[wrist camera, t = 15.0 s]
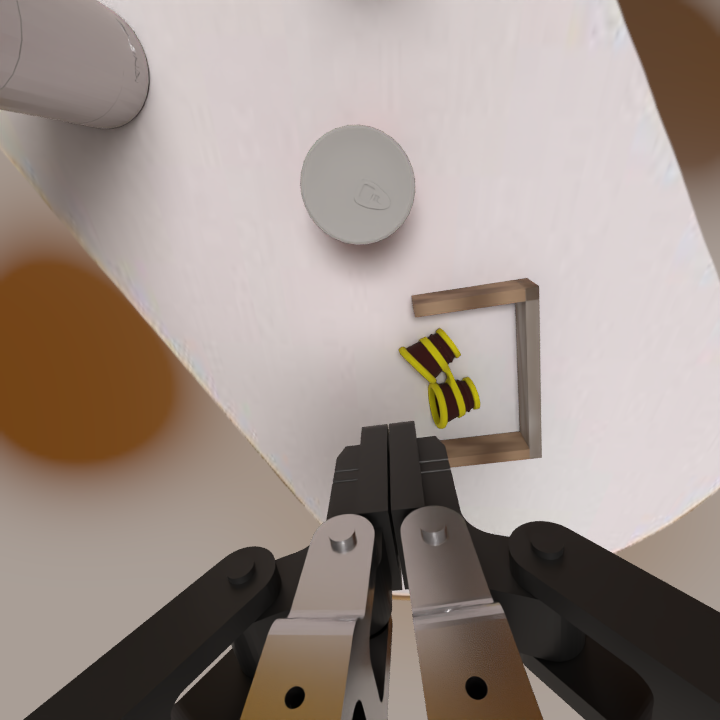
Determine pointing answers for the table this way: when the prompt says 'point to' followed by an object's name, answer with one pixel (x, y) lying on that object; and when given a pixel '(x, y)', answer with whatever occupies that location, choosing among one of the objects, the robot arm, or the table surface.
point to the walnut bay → (528, 363)
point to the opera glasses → (452, 394)
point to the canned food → (357, 184)
